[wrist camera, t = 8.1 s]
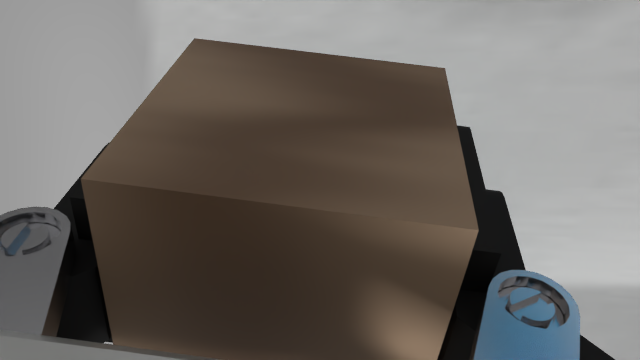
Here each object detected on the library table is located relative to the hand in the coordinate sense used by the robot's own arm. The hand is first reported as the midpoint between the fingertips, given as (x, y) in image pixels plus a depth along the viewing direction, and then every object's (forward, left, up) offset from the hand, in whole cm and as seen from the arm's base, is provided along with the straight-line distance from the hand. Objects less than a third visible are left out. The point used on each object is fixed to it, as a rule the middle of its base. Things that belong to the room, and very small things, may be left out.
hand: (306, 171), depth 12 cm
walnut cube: (0, 0, -1) cm, 1 cm away
